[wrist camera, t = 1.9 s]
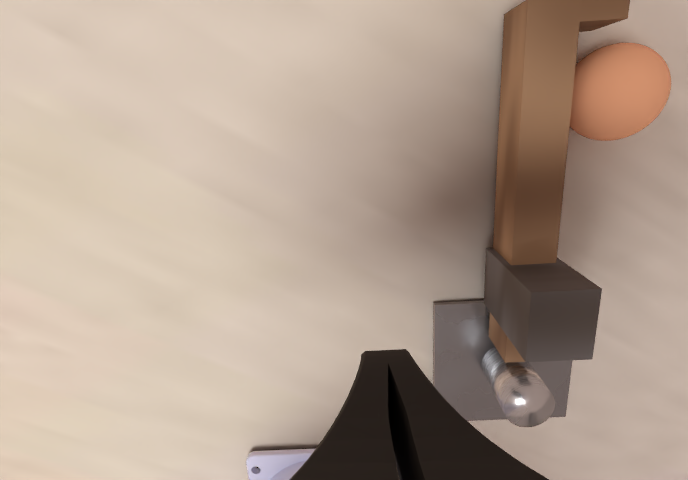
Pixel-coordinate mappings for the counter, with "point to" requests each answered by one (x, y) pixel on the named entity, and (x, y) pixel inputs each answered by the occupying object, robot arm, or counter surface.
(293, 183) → the counter surface
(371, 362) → the robot arm
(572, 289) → the lever
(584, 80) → the ball
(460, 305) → the pivot base
